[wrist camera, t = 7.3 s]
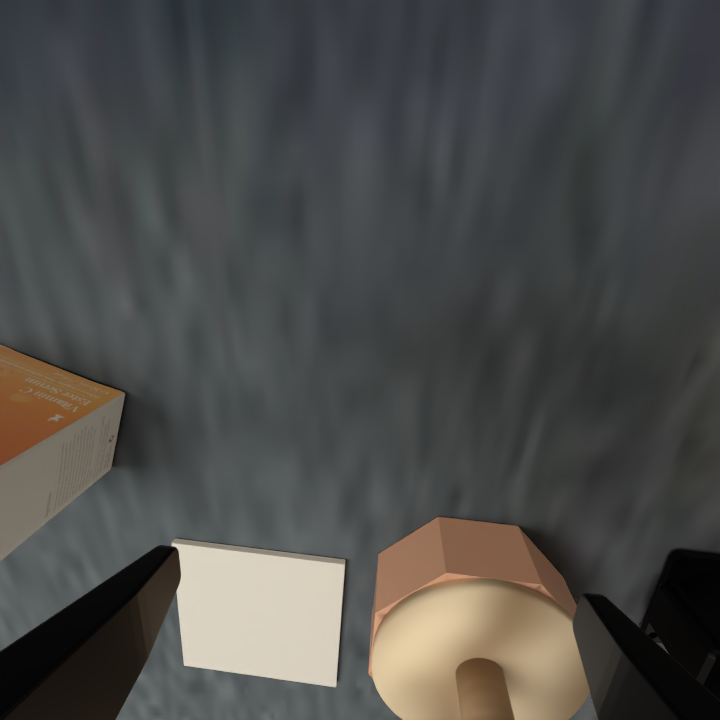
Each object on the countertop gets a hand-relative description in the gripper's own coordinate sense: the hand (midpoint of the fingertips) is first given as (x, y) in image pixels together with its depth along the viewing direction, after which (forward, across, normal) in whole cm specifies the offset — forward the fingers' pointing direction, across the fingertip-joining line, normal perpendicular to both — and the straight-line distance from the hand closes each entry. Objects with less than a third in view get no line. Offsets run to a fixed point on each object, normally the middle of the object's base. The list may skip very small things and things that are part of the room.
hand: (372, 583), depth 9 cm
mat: (+13, +7, +18) cm, 23 cm away
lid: (+9, -6, +14) cm, 17 cm away
